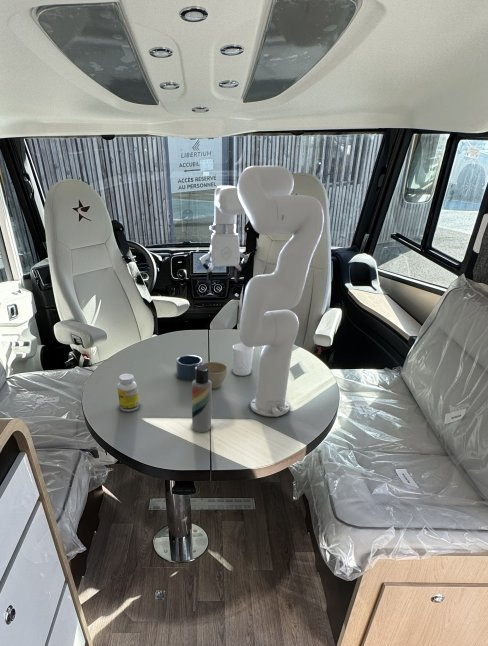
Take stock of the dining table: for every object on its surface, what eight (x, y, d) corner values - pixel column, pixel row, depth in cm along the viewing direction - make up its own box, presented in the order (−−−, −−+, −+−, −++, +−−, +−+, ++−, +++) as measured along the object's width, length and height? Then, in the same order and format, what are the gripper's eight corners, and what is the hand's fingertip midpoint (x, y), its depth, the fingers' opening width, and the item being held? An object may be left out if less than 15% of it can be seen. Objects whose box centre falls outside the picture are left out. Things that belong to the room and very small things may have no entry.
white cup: (252, 376, 165) (254, 351, 159) (231, 376, 165) (233, 350, 159) (251, 368, 171) (253, 343, 165) (230, 367, 171) (232, 342, 166)
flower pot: (211, 395, 153) (211, 375, 148) (193, 385, 159) (193, 366, 155) (232, 387, 158) (233, 368, 154) (213, 377, 164) (214, 359, 160)
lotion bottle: (200, 421, 138) (200, 360, 127) (214, 427, 135) (216, 365, 124) (188, 428, 135) (187, 366, 123) (202, 434, 132) (203, 372, 120)
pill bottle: (118, 404, 147) (114, 374, 140) (136, 401, 149) (133, 371, 142) (122, 413, 142) (118, 382, 136) (140, 410, 144) (138, 379, 137)
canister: (204, 379, 163) (204, 363, 160) (179, 381, 161) (179, 366, 158) (198, 369, 170) (198, 354, 167) (174, 371, 169) (174, 356, 165)
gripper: (202, 231, 145) (202, 286, 155) (252, 230, 148) (249, 283, 158) (197, 228, 151) (197, 281, 161) (246, 226, 154) (243, 278, 164)
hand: (223, 282), depth 159 cm, fingers open, 9 cm apart
